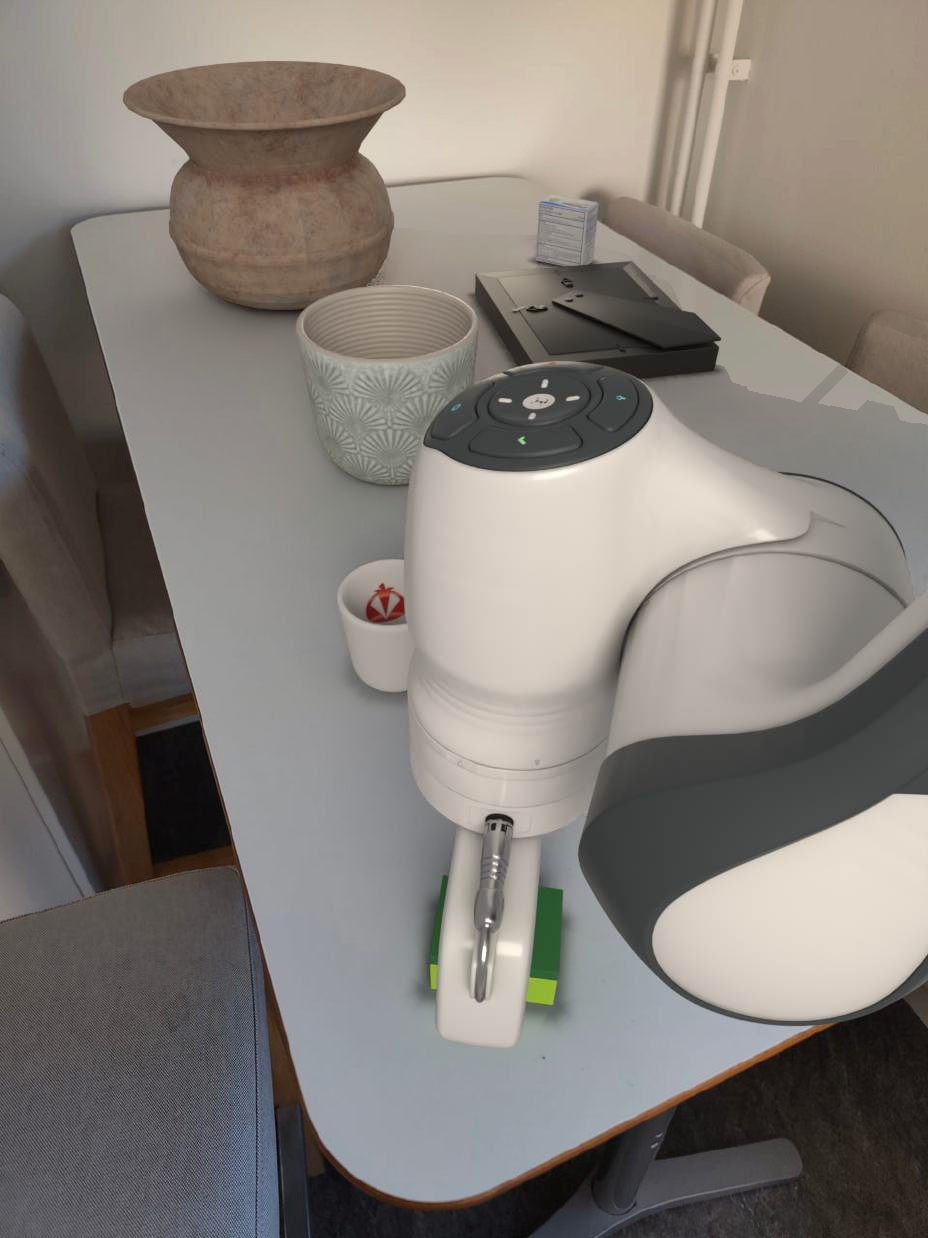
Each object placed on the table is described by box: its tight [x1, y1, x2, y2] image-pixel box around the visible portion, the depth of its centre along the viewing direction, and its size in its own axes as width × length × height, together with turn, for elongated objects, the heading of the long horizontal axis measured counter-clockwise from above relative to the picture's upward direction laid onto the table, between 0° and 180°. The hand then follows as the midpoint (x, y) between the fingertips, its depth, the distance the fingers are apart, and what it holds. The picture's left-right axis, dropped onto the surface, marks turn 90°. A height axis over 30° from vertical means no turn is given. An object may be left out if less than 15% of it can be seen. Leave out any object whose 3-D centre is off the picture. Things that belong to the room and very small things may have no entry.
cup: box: [336, 558, 416, 693], centre depth 66 cm, size 11×8×8 cm
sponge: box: [429, 874, 564, 1006], centre depth 50 cm, size 7×5×4 cm
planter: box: [295, 284, 480, 486], centre depth 85 cm, size 17×17×15 cm
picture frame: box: [474, 260, 722, 380], centre depth 113 cm, size 23×4×28 cm
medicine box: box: [535, 194, 600, 267], centre depth 129 cm, size 8×4×9 cm, turn 60°
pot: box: [122, 60, 407, 311], centre depth 115 cm, size 34×34×25 cm
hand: (495, 895), depth 47 cm, fingers open, 8 cm apart
